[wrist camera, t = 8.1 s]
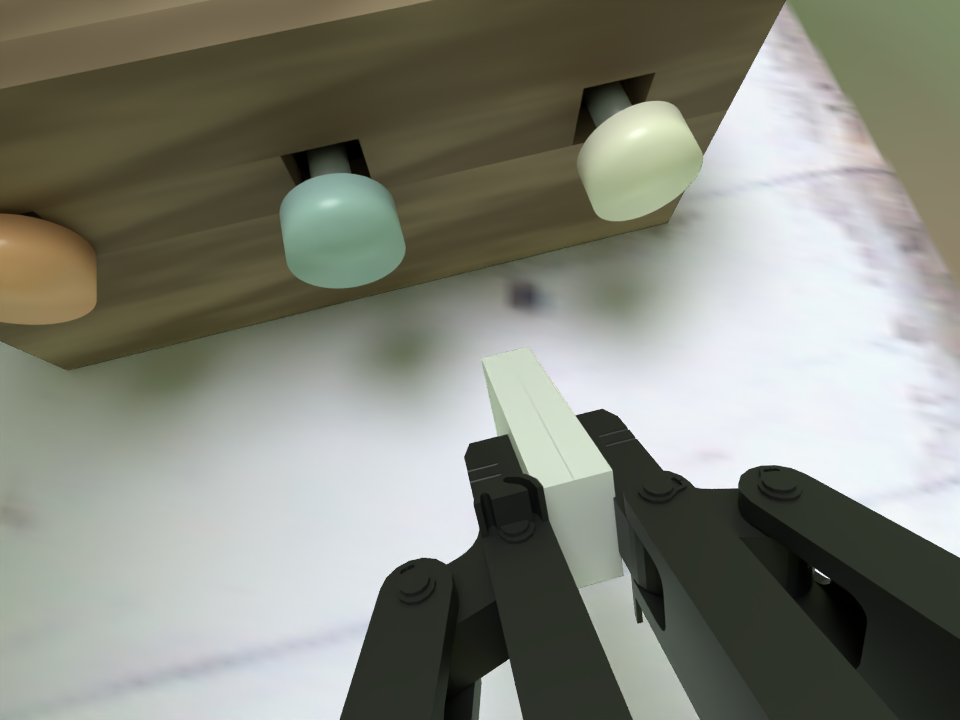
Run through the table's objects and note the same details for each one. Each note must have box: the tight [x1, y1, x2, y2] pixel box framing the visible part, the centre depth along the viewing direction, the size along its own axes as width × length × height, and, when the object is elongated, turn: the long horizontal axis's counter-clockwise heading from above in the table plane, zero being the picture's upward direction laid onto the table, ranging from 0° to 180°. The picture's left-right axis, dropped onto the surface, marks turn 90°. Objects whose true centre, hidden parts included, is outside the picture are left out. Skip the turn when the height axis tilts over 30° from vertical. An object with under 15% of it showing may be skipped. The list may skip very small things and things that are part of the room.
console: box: [0, 0, 786, 370], centre depth 24 cm, size 10×36×16 cm, turn 105°
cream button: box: [577, 81, 703, 221], centre depth 21 cm, size 6×4×4 cm
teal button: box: [279, 142, 406, 288], centre depth 20 cm, size 6×4×4 cm
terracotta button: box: [0, 211, 97, 325], centre depth 20 cm, size 6×4×4 cm
